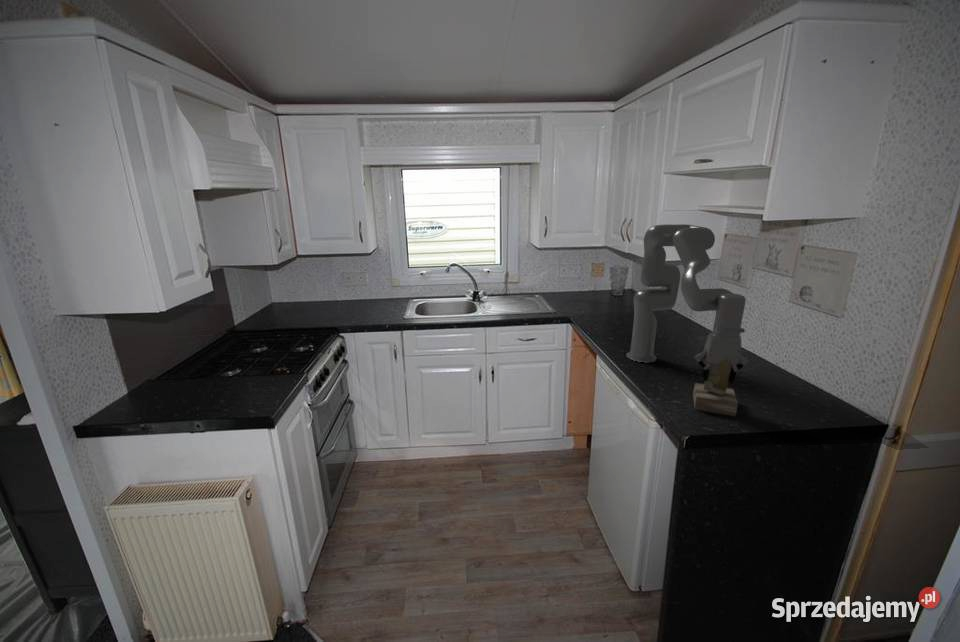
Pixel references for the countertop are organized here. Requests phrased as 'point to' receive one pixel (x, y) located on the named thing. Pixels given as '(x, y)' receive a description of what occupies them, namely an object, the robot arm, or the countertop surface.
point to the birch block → (715, 401)
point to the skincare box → (718, 377)
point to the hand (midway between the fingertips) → (717, 379)
